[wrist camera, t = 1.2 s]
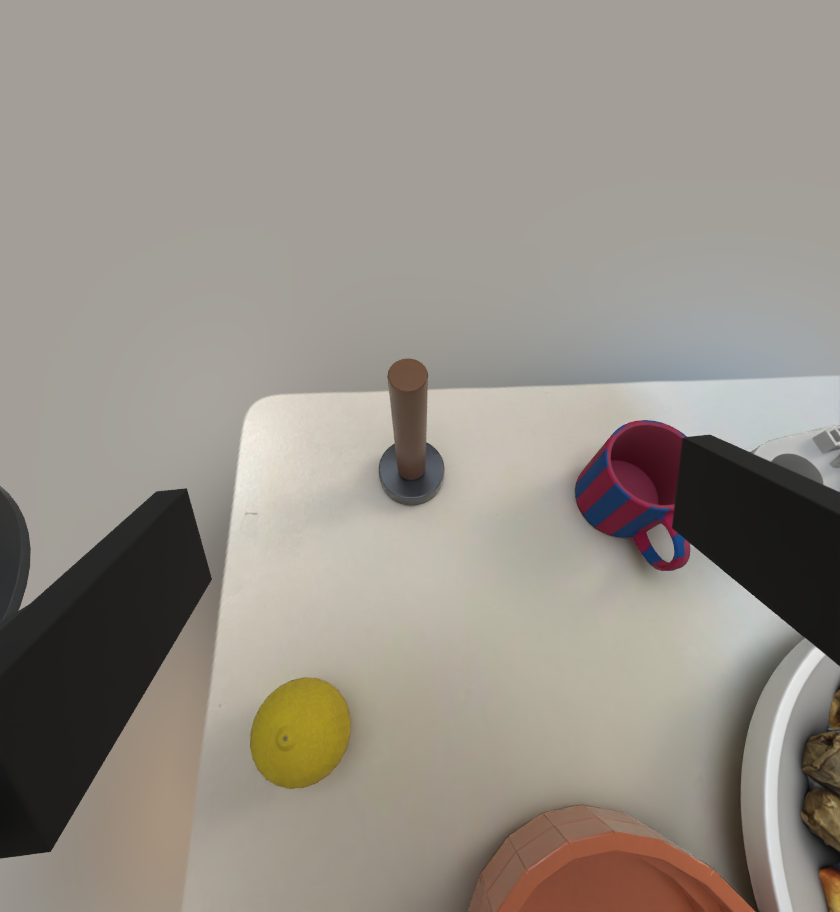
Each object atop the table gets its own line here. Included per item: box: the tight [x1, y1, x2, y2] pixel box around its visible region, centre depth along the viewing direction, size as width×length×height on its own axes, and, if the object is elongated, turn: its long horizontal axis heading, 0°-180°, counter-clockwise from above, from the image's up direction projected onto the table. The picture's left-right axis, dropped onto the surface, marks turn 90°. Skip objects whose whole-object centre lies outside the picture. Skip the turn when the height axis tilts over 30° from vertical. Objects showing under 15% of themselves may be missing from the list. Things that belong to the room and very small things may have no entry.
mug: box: [575, 420, 690, 571], centre depth 34 cm, size 7×10×7 cm
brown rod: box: [379, 359, 444, 505], centre depth 32 cm, size 5×5×14 cm
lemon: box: [250, 678, 351, 789], centre depth 27 cm, size 6×6×8 cm
